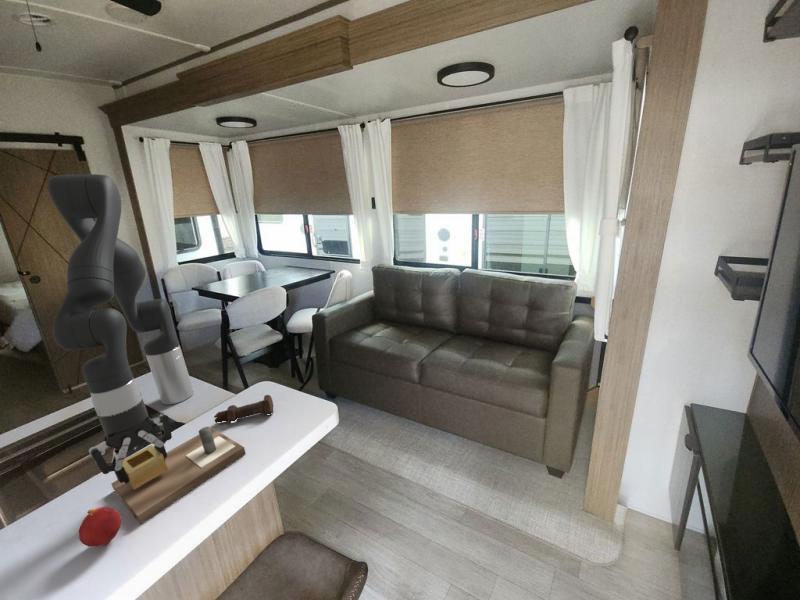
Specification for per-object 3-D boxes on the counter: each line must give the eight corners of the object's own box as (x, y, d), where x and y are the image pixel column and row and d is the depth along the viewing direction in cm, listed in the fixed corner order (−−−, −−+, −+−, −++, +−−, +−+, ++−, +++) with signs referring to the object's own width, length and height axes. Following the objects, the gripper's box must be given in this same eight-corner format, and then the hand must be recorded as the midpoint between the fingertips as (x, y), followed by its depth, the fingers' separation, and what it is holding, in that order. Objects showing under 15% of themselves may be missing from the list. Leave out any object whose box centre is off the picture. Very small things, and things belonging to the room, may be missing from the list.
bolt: (220, 428, 99) (274, 414, 102) (214, 430, 95) (271, 415, 98) (217, 407, 101) (271, 394, 104) (211, 408, 96) (268, 394, 99)
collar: (123, 477, 76) (117, 462, 75) (156, 459, 81) (151, 444, 80) (134, 489, 72) (128, 474, 71) (167, 469, 77) (162, 454, 76)
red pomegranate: (106, 529, 67) (91, 495, 65) (134, 527, 67) (120, 493, 65) (78, 558, 62) (61, 523, 60) (109, 557, 61) (93, 521, 59)
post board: (114, 490, 77) (101, 460, 75) (213, 433, 94) (205, 407, 92) (140, 524, 68) (127, 490, 65) (245, 454, 84) (238, 425, 82)
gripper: (152, 383, 79) (173, 445, 84) (69, 417, 69) (98, 486, 73) (165, 391, 75) (186, 456, 80) (79, 429, 64) (110, 501, 69)
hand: (144, 470), depth 76 cm, fingers closed on collar, 6 cm apart
